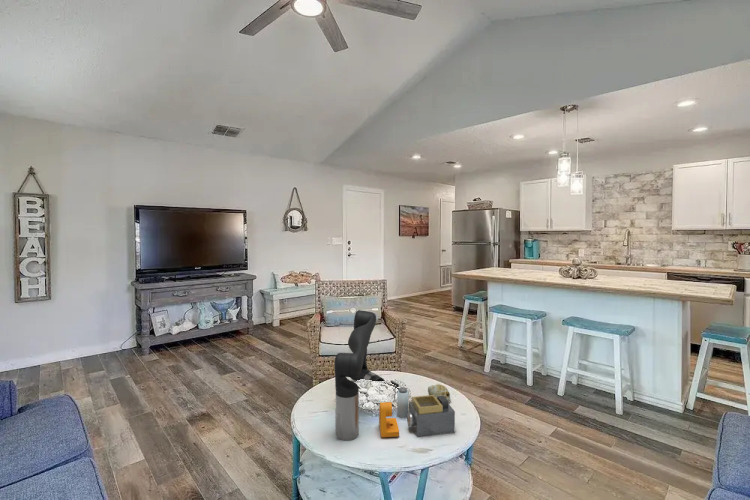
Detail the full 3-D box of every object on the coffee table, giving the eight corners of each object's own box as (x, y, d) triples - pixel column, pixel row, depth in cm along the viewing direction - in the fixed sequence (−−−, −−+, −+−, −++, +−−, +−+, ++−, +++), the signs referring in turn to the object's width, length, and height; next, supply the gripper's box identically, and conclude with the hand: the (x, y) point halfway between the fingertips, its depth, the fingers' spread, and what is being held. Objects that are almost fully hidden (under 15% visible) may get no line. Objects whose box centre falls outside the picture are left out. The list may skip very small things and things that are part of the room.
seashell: (454, 403, 170) (445, 385, 169) (436, 412, 171) (427, 394, 170) (449, 392, 180) (441, 375, 179) (432, 401, 181) (423, 384, 180)
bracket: (399, 438, 143) (399, 409, 142) (381, 439, 143) (381, 409, 142) (395, 423, 154) (395, 396, 153) (379, 424, 153) (379, 397, 153)
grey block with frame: (412, 437, 143) (412, 408, 143) (404, 423, 154) (404, 395, 153) (454, 432, 147) (454, 404, 146) (444, 418, 158) (444, 392, 157)
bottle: (398, 418, 158) (398, 392, 157) (396, 413, 163) (396, 387, 162) (409, 417, 159) (409, 391, 158) (406, 412, 164) (406, 386, 163)
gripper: (361, 377, 177) (379, 390, 163) (385, 371, 184) (405, 383, 171) (361, 392, 177) (379, 406, 163) (385, 386, 185) (405, 398, 171)
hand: (392, 394), depth 167 cm, fingers open, 8 cm apart
